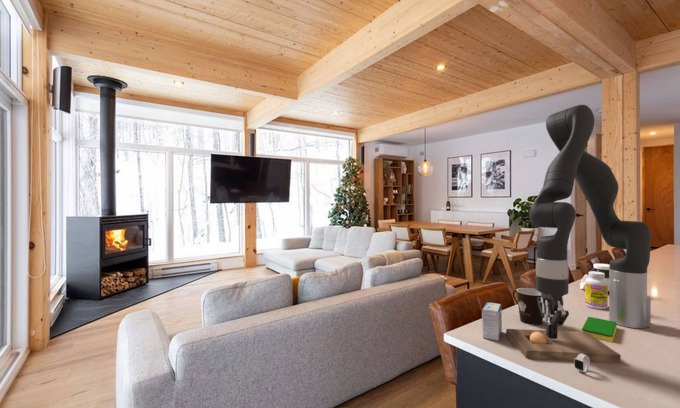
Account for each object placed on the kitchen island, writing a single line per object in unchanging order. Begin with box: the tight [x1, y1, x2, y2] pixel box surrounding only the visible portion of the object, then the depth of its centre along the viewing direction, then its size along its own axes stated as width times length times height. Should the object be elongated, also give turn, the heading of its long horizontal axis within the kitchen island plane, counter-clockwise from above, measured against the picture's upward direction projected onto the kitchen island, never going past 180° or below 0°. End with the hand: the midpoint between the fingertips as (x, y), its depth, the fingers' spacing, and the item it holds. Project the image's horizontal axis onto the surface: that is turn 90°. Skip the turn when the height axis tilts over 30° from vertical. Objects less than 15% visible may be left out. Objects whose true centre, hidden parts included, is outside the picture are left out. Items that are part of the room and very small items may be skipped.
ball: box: [530, 332, 547, 344], centre depth 91 cm, size 4×4×4 cm
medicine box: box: [481, 302, 503, 341], centre depth 99 cm, size 8×4×9 cm, turn 148°
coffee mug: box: [512, 287, 544, 326], centre depth 111 cm, size 12×9×10 cm
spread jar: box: [579, 263, 610, 295], centre depth 142 cm, size 12×11×12 cm
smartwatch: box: [573, 354, 591, 373], centre depth 78 cm, size 4×2×4 cm, turn 118°
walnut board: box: [505, 328, 621, 364], centre depth 90 cm, size 22×14×2 cm, turn 82°
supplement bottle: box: [584, 270, 609, 310], centre depth 122 cm, size 7×7×13 cm
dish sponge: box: [581, 316, 617, 343], centre depth 101 cm, size 7×14×2 cm, turn 136°
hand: (551, 337), depth 90 cm, fingers closed
